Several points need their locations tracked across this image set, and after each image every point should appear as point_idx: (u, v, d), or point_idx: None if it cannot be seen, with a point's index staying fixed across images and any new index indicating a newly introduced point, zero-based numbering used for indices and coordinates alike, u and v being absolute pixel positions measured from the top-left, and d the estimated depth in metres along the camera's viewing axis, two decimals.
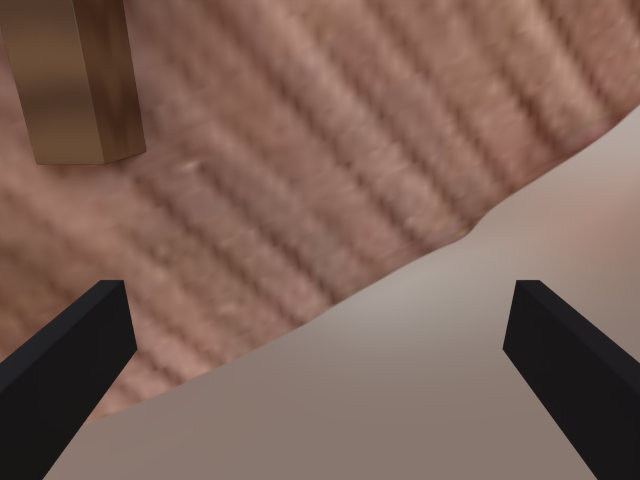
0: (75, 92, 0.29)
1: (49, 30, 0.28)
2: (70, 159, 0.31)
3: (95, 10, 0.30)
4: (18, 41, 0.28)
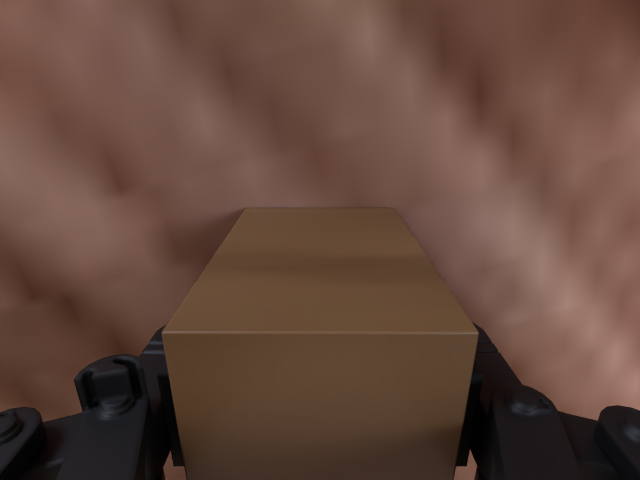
0: None
1: None
2: None
3: None
4: None
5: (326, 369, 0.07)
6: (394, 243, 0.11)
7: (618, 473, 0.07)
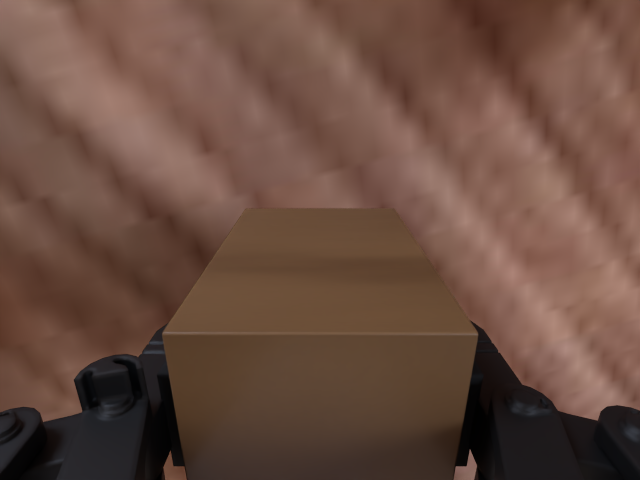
0: None
1: None
2: None
3: None
4: None
5: (326, 370, 0.07)
6: (394, 243, 0.11)
7: (618, 473, 0.07)
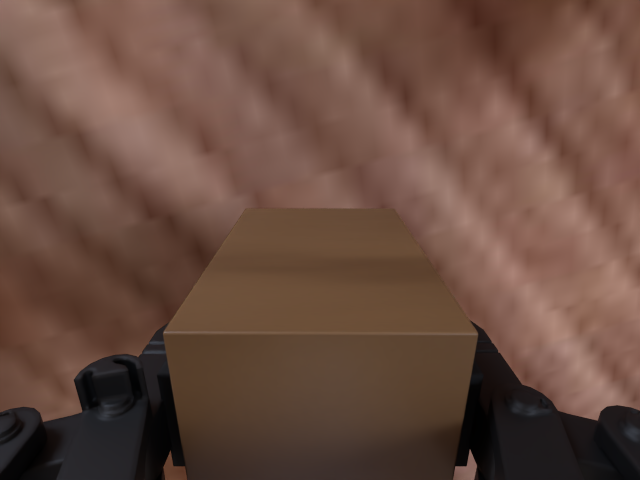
0: None
1: None
2: None
3: None
4: None
5: (326, 369, 0.07)
6: (394, 243, 0.11)
7: (618, 473, 0.07)
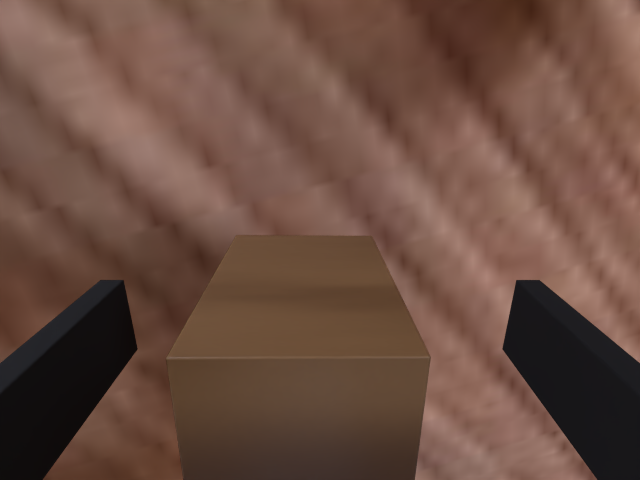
0: None
1: None
2: None
3: None
4: None
5: (304, 388, 0.08)
6: (368, 272, 0.12)
7: None
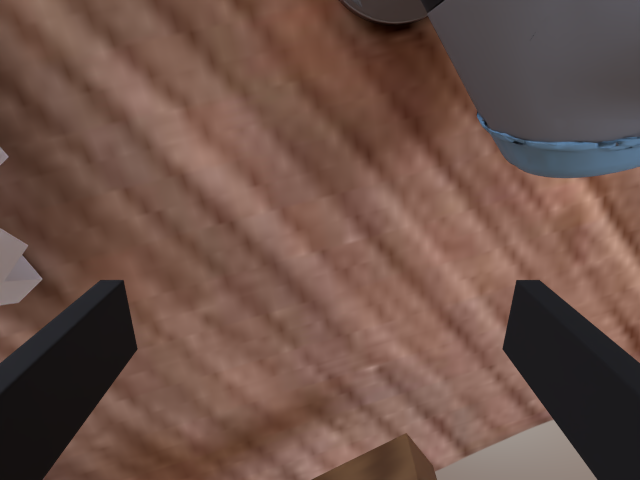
0: None
1: None
2: None
3: None
4: None
5: None
6: None
7: None
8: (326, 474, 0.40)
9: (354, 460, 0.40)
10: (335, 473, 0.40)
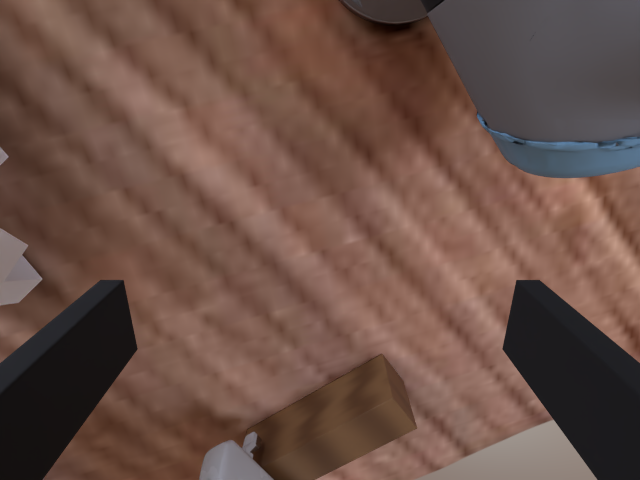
0: None
1: (314, 465, 0.47)
2: None
3: None
4: (297, 456, 0.46)
5: (399, 417, 0.44)
6: (406, 397, 0.49)
7: None
8: (321, 388, 0.52)
9: (343, 376, 0.52)
10: (328, 387, 0.52)
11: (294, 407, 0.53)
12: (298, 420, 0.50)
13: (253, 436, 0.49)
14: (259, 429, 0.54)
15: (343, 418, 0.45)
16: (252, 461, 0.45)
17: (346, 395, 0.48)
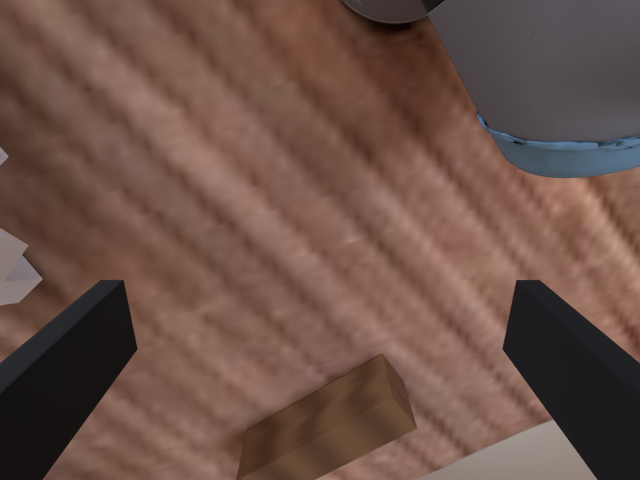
0: None
1: (314, 465, 0.47)
2: None
3: None
4: (297, 456, 0.46)
5: (399, 417, 0.44)
6: (406, 397, 0.49)
7: None
8: (321, 388, 0.52)
9: (343, 376, 0.52)
10: (328, 387, 0.52)
11: (294, 407, 0.53)
12: (298, 420, 0.50)
13: None
14: (259, 429, 0.54)
15: (343, 418, 0.45)
16: None
17: (346, 395, 0.48)
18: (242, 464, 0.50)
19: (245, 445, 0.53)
